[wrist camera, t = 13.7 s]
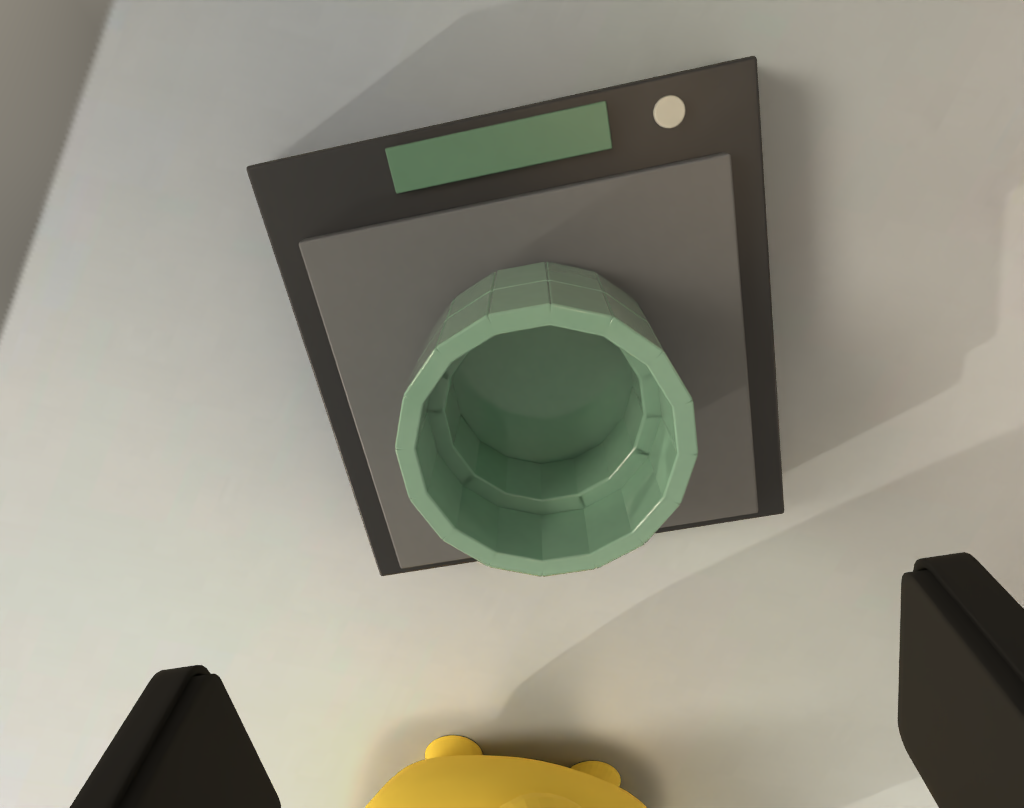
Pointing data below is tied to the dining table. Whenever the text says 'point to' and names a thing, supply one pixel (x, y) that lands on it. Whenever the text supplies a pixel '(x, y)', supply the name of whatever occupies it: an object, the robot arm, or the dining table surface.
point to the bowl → (545, 423)
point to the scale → (534, 239)
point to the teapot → (499, 782)
